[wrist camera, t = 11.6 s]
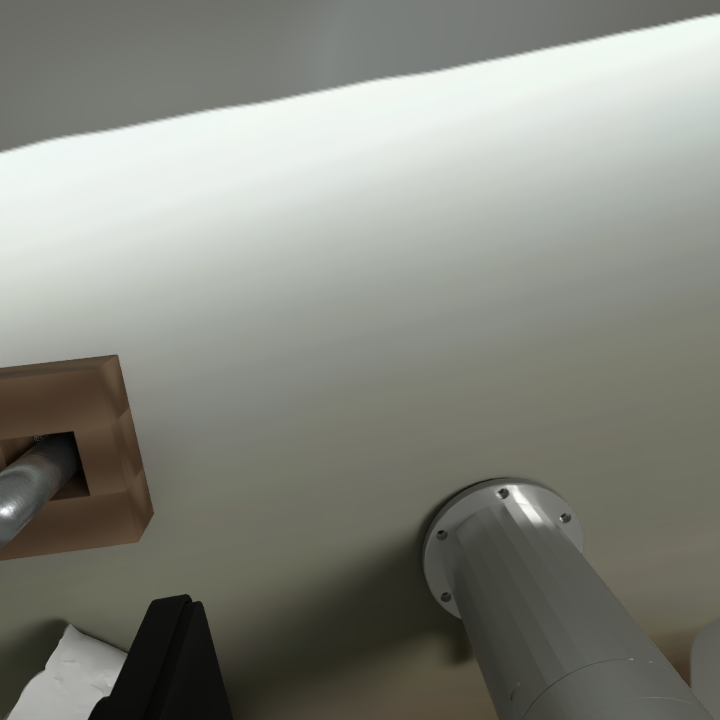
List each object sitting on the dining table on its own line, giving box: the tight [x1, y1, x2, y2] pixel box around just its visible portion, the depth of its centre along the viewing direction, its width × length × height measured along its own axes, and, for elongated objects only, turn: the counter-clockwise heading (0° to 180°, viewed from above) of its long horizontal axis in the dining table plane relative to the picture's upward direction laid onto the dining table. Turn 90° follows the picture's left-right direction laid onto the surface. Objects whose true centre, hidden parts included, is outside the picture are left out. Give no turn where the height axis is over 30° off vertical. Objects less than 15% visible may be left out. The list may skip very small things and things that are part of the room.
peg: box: [0, 431, 83, 548], centre depth 32 cm, size 3×3×10 cm
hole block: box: [0, 355, 154, 561], centre depth 35 cm, size 12×9×4 cm
